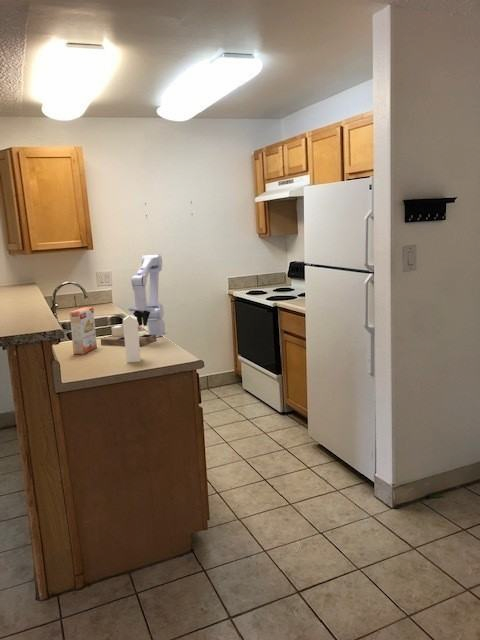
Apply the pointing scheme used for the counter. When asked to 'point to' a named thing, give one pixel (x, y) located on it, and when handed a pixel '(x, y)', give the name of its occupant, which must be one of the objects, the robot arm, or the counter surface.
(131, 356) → the milk
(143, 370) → the counter surface
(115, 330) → the block
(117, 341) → the trap board
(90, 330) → the cracker box
